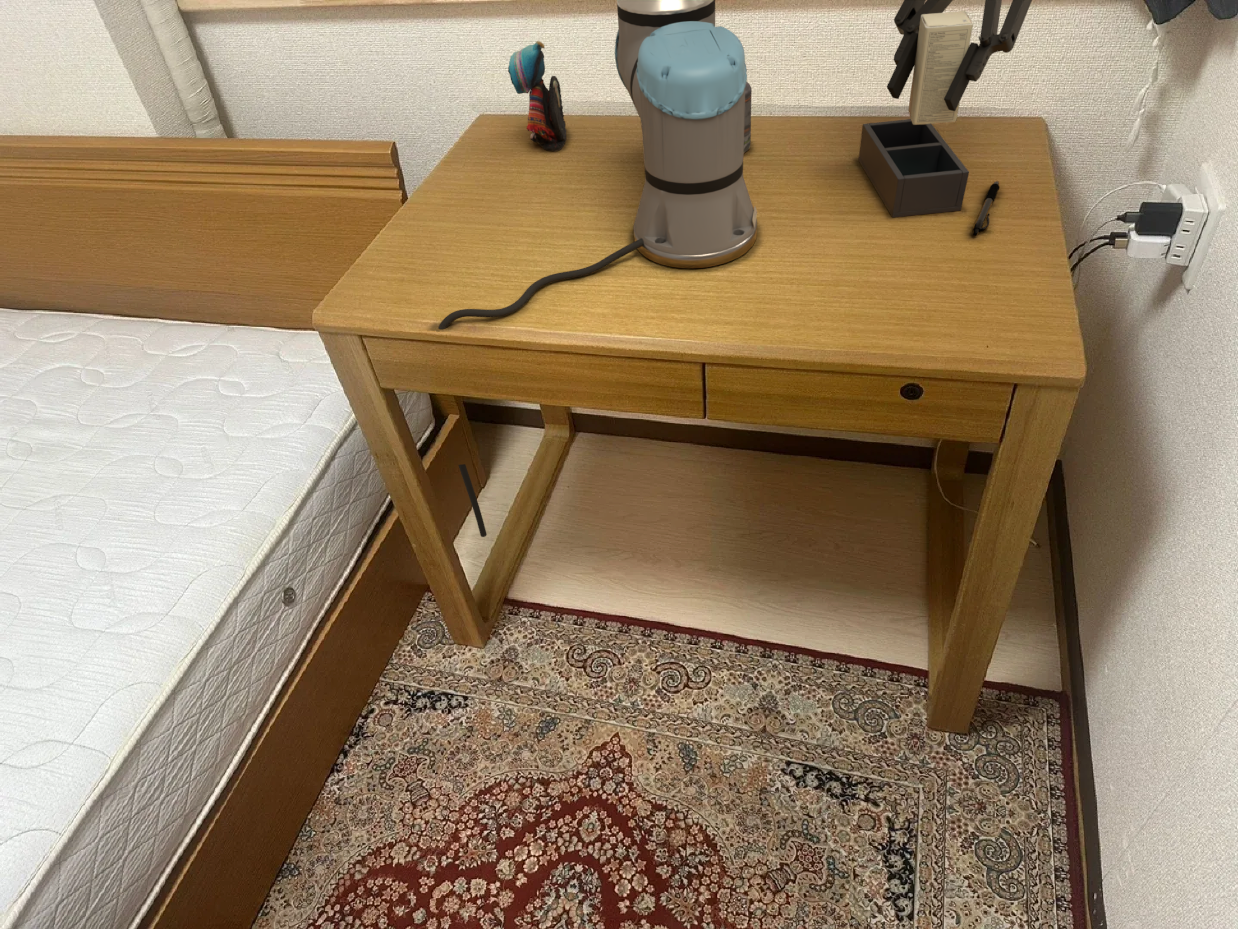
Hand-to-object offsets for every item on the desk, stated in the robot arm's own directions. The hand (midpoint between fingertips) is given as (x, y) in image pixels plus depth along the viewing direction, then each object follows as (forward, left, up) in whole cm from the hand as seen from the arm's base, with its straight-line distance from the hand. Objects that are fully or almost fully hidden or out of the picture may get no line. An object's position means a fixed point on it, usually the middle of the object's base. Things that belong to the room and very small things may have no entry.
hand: (920, 98), depth 98 cm
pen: (+10, -3, -14) cm, 17 cm away
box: (+3, +3, -4) cm, 5 cm away
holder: (+3, +7, -14) cm, 16 cm away
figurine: (-45, +32, -14) cm, 57 cm away
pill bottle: (-18, +23, -14) cm, 32 cm away
